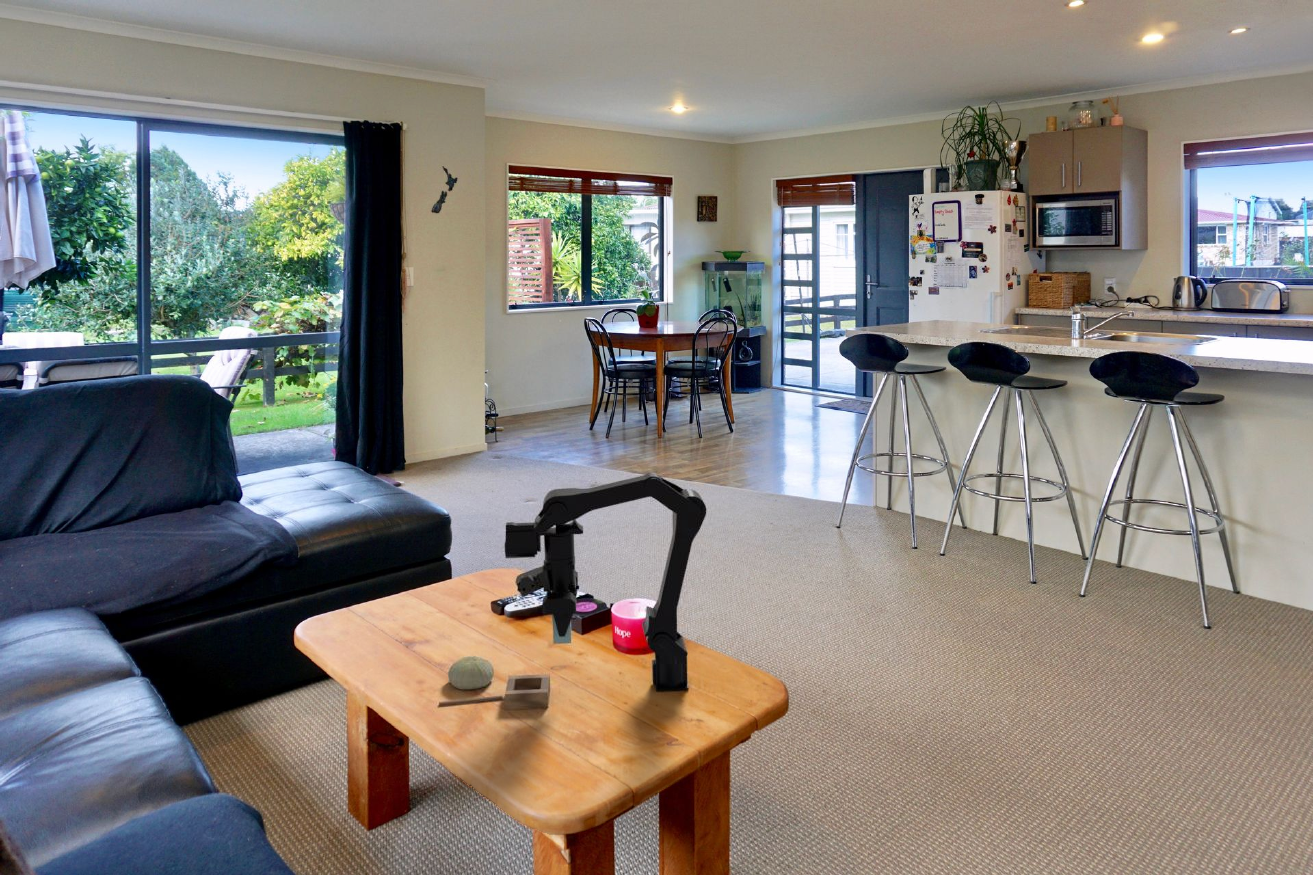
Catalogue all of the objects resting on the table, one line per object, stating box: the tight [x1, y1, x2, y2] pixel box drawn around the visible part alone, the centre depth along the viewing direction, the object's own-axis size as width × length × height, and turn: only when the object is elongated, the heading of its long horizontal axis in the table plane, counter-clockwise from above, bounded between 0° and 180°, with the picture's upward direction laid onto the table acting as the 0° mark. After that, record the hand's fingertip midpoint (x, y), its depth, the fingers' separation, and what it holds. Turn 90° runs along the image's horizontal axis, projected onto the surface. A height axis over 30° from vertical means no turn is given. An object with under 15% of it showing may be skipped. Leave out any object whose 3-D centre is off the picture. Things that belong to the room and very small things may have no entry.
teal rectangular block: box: [552, 615, 573, 645], centre depth 182 cm, size 3×3×8 cm
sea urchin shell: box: [447, 655, 495, 691], centre depth 189 cm, size 9×8×8 cm
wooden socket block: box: [504, 673, 551, 711], centre depth 181 cm, size 8×8×3 cm
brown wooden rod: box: [438, 695, 504, 707], centre depth 181 cm, size 12×1×1 cm, turn 101°
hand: (562, 632), depth 183 cm, fingers closed on teal rectangular block, 3 cm apart
